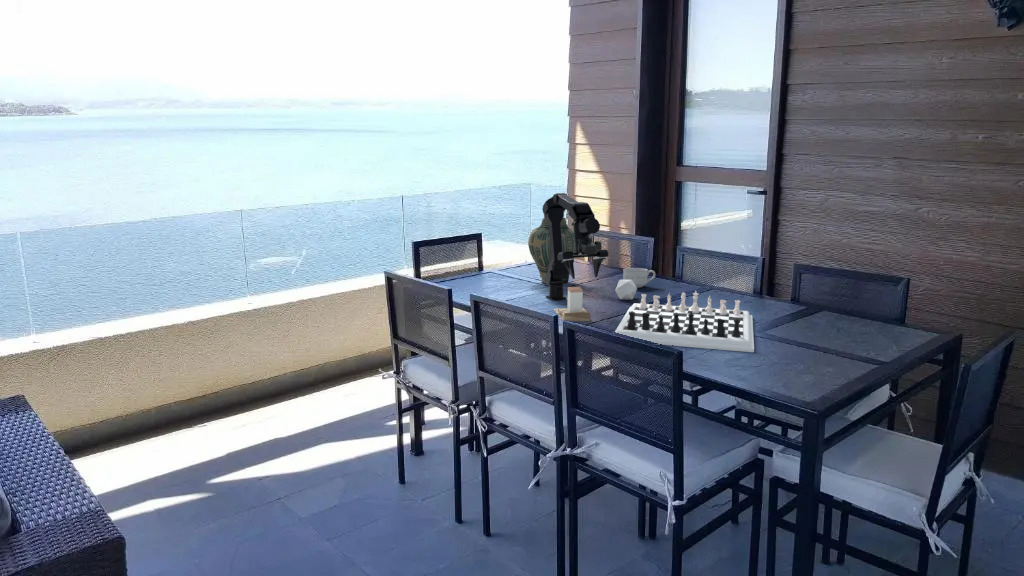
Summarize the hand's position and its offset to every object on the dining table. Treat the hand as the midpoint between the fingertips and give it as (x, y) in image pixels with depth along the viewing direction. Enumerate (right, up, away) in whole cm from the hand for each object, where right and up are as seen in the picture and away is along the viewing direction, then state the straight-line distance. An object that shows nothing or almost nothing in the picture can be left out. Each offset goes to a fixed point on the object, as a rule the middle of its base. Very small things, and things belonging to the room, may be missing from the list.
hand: (584, 278), depth 281 cm
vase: (-9, -1, +59) cm, 60 cm away
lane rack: (-5, -14, -1) cm, 15 cm away
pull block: (-4, -15, -5) cm, 16 cm away
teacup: (+28, -3, +51) cm, 58 cm away
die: (+19, -8, +28) cm, 35 cm away
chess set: (+34, -19, -17) cm, 42 cm away
